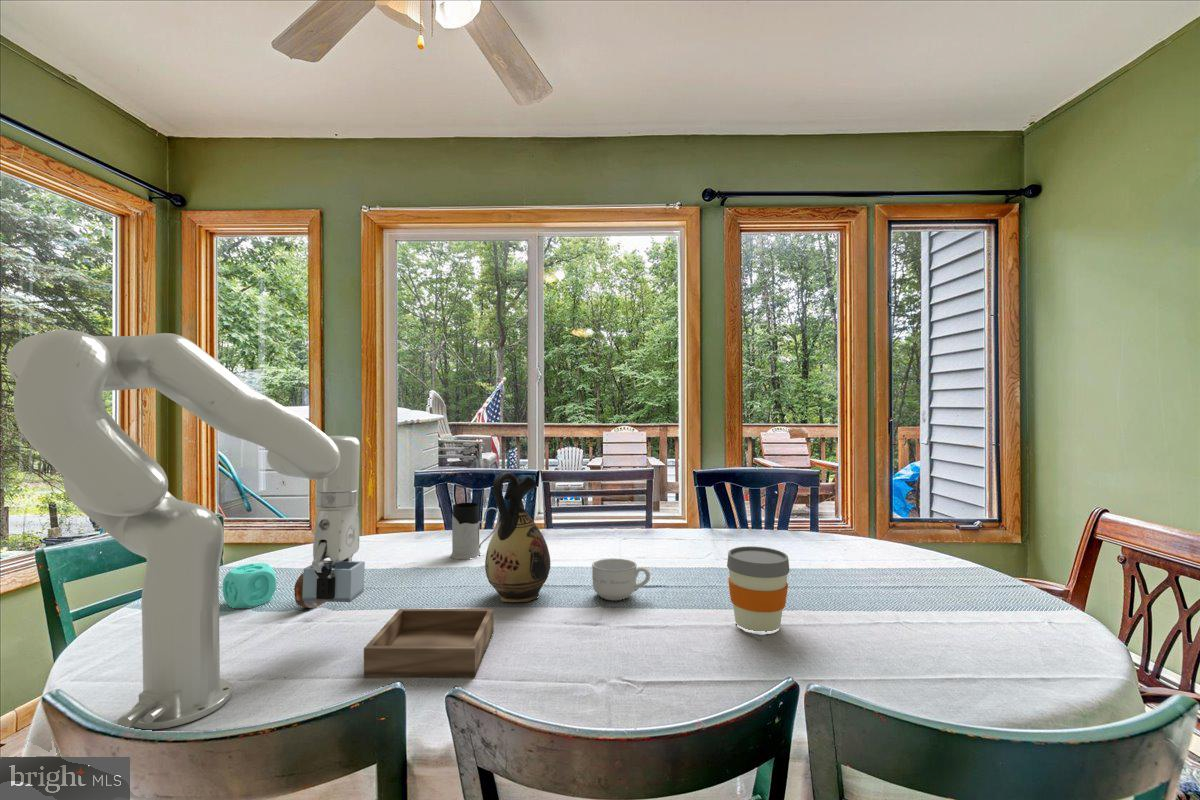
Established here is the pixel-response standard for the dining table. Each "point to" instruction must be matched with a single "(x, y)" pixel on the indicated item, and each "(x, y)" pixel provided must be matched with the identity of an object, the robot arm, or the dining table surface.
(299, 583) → the tin
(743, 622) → the reusable coffee cup
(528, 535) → the ceramic jug
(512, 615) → the dining table surface
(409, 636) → the tray
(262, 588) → the decorative dice
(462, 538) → the glass holder
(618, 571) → the teacup
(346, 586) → the small crate
